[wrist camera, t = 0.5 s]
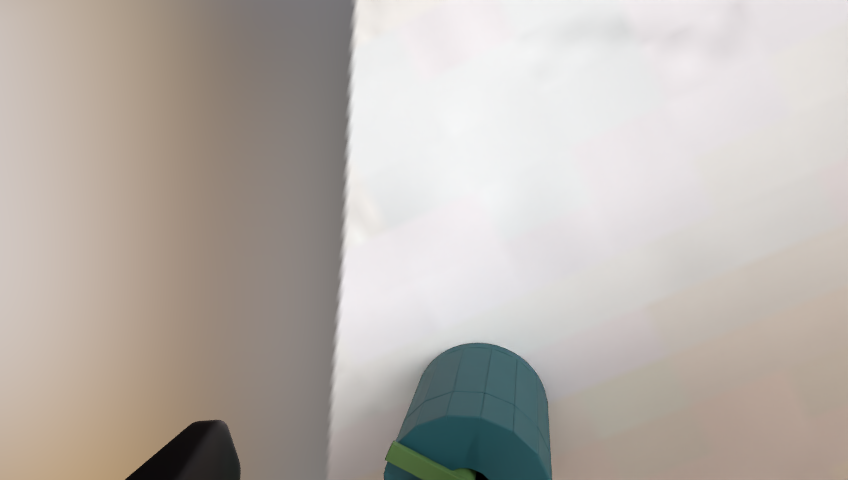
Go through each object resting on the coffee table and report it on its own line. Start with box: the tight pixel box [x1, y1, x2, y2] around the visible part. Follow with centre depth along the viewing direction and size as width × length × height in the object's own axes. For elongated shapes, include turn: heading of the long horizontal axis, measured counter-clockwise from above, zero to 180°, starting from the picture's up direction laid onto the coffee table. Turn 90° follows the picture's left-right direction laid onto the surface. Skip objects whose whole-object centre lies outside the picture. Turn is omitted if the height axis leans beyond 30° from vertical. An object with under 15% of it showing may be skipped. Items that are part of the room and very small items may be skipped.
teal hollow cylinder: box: [384, 343, 552, 480], centre depth 20 cm, size 5×5×6 cm
